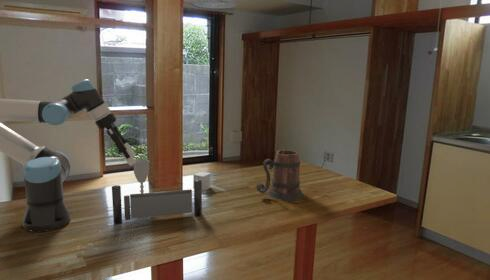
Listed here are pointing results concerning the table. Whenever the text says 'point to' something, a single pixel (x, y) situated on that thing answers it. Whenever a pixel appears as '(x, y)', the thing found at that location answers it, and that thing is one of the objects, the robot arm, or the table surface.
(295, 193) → the tankard
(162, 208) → the gate leaf
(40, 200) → the robot arm
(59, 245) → the table surface
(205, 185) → the product box
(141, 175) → the chalice
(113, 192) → the gate frame
